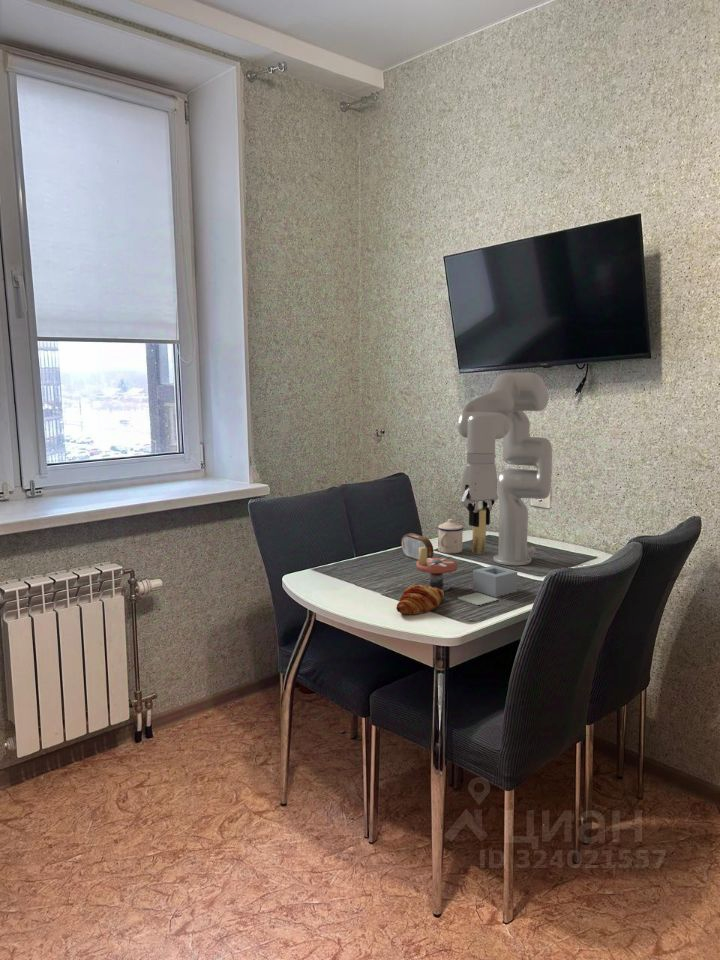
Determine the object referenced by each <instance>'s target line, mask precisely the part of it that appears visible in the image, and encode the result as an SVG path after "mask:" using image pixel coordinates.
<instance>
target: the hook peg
mask: <svg viewBox="0 0 720 960" xmlns="http://www.w3.org/2000/svg"><path fill="white" fill-rule="evenodd" d="M477 512H479V526H478V527H474V526H472V545H471V546H472V549H471V551H472V553H474V554H485V553H486V547H487V546H486V540H487V539H486V537H487V535H486V534H487V525H486V509H483V508H482V507H478V511H477Z"/></svg>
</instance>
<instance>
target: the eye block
mask: <svg viewBox="0 0 720 960" xmlns="http://www.w3.org/2000/svg"><path fill="white" fill-rule="evenodd" d="M517 589H518V571H516V570H511V569H508V568H504V567H501V566H497V565H490V566H486V567H481V568H477V569H473V570H472V591H474V592H477V591H478V592H477V593H480V592H481V594H483V593H484V595H486V594H488V595H487V596H489V595H491V596H490V597H492V596H494V597H493V598H497V597H496V596H499V597H501V596H500V595H503V596H505V595H504V594H507V595H509V593H511V594H514V593H517V592H518V590H517ZM513 592H514V593H513Z"/></svg>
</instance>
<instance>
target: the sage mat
mask: <svg viewBox="0 0 720 960" xmlns="http://www.w3.org/2000/svg"><path fill="white" fill-rule="evenodd" d="M457 599H458V600H459V601H463V602H465V603H468V604H471V603H472V605H473V604H475V605H474V606H476V605H480V606H483V605H482V604H484V605H486V604H485V603H488V604H490V603H489V602H491V603H493V602H492V601H495V602H497V601H496V600H498V601H499V599H498V598H497V597H492V596H489V595H486V594H483V593H480V592H474V593H471V594H466V595H462V596H459V597H457Z"/></svg>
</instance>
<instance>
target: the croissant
mask: <svg viewBox="0 0 720 960" xmlns="http://www.w3.org/2000/svg"><path fill="white" fill-rule="evenodd" d="M423 585H424V584H423ZM423 585H422V584H414V585H411V586H408V587H407V588H406V589H404V590H403V592H402V594H401V597H400V599H399V601H398V603H397V604H396V609H395V610H396V611H397V612H398V613H400V614H402V615H403V614H404V615H416V614H417V615H418V614H419V613H420V614H425V612H426V613H429V612H430V611H433V609H434V610H435V609H436V608H438V607H439V605H440V604H441V602H442V599H443V598H444V596H445V595H444V594H445V592H443V590H440V589H438V588H436V587H434V588H433V587H431V586H428V585H424V586H423Z"/></svg>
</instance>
